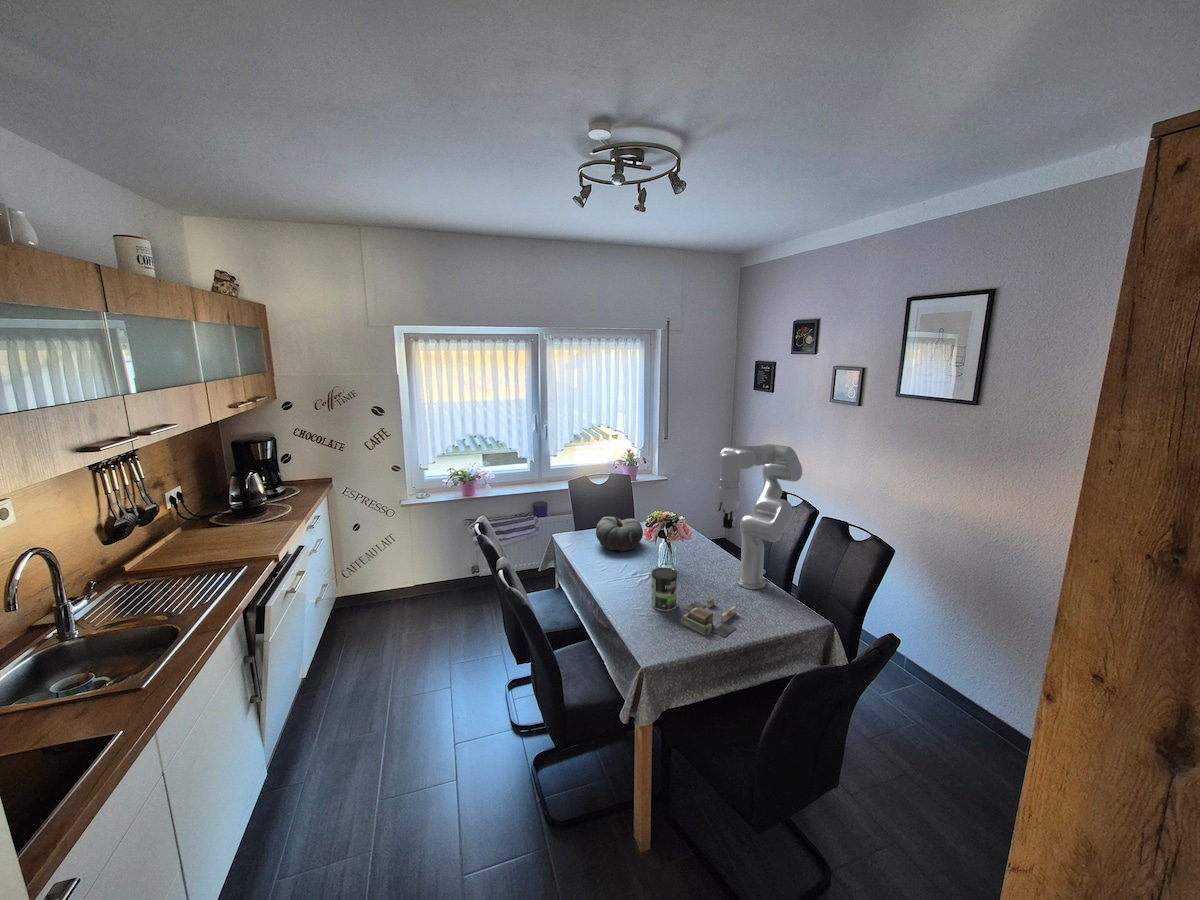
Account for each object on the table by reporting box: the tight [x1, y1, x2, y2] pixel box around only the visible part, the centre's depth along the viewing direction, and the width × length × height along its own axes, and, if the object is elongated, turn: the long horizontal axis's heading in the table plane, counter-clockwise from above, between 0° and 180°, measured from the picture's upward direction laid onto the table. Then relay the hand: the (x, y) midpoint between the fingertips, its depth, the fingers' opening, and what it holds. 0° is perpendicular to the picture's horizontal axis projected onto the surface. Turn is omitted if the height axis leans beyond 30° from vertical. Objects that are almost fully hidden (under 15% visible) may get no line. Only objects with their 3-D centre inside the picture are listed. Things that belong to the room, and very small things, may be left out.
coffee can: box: [651, 567, 678, 612], centre depth 194 cm, size 10×10×14 cm
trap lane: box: [680, 596, 737, 638], centre depth 184 cm, size 21×22×3 cm
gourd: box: [595, 516, 644, 552], centre depth 254 cm, size 25×25×17 cm
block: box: [690, 607, 714, 626], centre depth 180 cm, size 6×6×5 cm
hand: (727, 527), depth 191 cm, fingers closed
